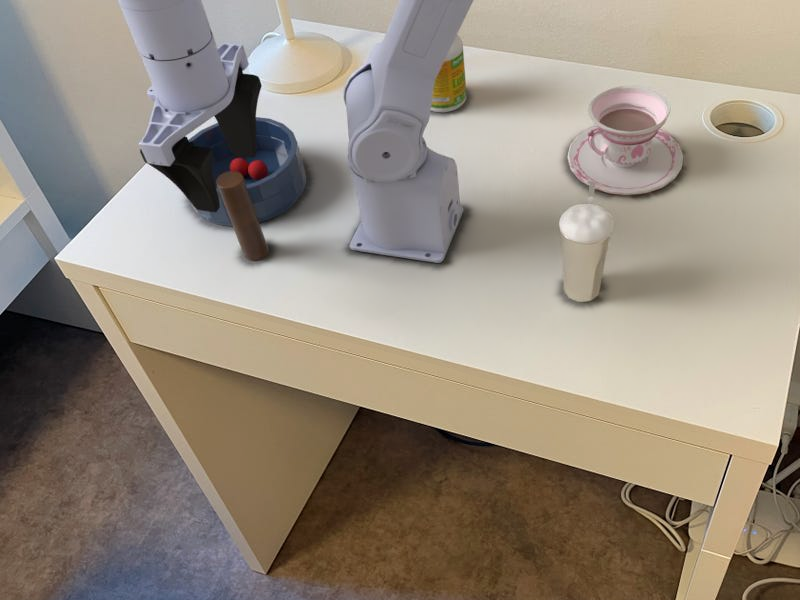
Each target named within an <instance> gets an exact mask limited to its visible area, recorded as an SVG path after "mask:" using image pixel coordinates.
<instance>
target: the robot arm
mask: <svg viewBox="0 0 800 600" xmlns="http://www.w3.org/2000/svg"><path fill="white" fill-rule="evenodd" d="M473 2H474V0H399V2H398V3H397V6H396V8H395V11H394V12H393V16H392V17H391V20H390V22H389V25H388V28H387V30H386V33H385V35H384V38H383V40H382V41H381V42H379V43H376V44H375V45H373V46H372V47H371V49H370V52H369V54H368V57H367V58H366V60H365V61H364V63H362V65H360V66H359V67H358V68H356V70H354V71H353V72H352V73H351V74H350V75H349V77H348V78H347V80H346V81H345V85H344V86H343V87H344V88H343V101H344V104H345V108H346V121H347V131H348V132H347V134H348V147H347V161H348V166H349V170H350V174H351V179H352V183H353V187H354V193H355V198H356V202H357V206H358V211H359V215H360V222H359V225H358V227H357V228H356V231H355V233H354V234H353V237H352V239H351V240H350V242H349V249H350V250H352V251H356V252H363V253H370V254H375V255H376V254H377V255H383V256H388V257H397V258H403V259H409V260H416V261H422V262H429V263H436V264H439V263H440V264H441V263H442V262H443V261H444V260H445V257H446V255H447V252H448V250H449V247H450V245H451V243H452V240H453V238H454V235H455V232H456V230H457V229H458V226H459V224H460V221H461V219H462V215H463V213H464V207H463V206H462V205H461V197H460V187H459V175H458V166H457V163H456V160H455V159H454V158H452V157H450V156H446V155H443V154H441V153H438V152H437V151H434V150H433V149H431V148H429V147H428V146H427V143H426V139H425V138H424V132H425V130H426V128H427V126H428V124H429V120H430V117H431V112H432V111H431V103H432V96H433V89H434V83H435V79H436V77H437V75H438V73H439V71H440V69H441V67H442V65H443V63H444V60H445V58H446V56H447V54H448V52H449V50H450V48H451V46H452V44H453V42H454V40H455V38H456V36H457V35H458V33H459V32H460V29H461V27H462V25H463V23H464V21H465V19H466V17H467V15H468V13H469V11H470V9H471V7H472V4H473ZM117 3H118V5H119V8H120V10H121V13H122V15H123V18H124V19H125V22H126V25H127V27H128V29H129V31H130V34H131V37H132V39H133V41H134V44H135V46H136V49H137V51H138V53H139V56H140V59H141V61H142V63H143V65H144V67H145V70H146V73H147V74H148V78H149V80H150V82H151V86H149V88H148V89H147V91H146V94H147V97H148V99H149V100H150V101H154V104H153V107H152V111H151V114H150V118H149V121H148V125H147V128H146V130H145V131H146V132H145V134H144V135H143V137H142V138H141V140H140V141H139V143H138V146H139V147H140V149H139V153H140V155H141V158H142V159H143V162H145V164H147V165H149V166H150V167H153V168H154V170H157V171H158V172H159V173H161V174H162V175H164V176H165V177H166V178H167V179H168V180H170V181H171V182H172V183H173V184H174V185H175V187H177V188H178V189H179V190H180V191H181V192H182V194H183V195H184V196H185V197H186V198H187V199H188V201H189V203H190V202H191V203H192V204H193V206H194V207H195V208H196V209H197V210H202V211H209V212H217V211H218V209H219V208H220V202H219V197H218V193H217V190H216V186H215V183H214V179H213V173H212V154H213V149H212V148H206V147H198V146H194V143H193V141H191V142H189V141H188V140H189V138H188V136H187V135H189V134H191V133H192V132H193V131H195V130H196V129H198V128H200V127H201V126H202V125H203V124H205V123H206V122H207V121H209V120H211V119H212V118H213V117H214V119H215V121H216V123H218V124H219V126H220V128H221V131H222V133H223V135H224V138H225V140H226V142H227V145H228V147H229V148H230V150H231V152H232V153H233V155H234V156H242V157H249V158H254V157H255V155H256V117H257V108H258V101H259V97H260V93H261V89H262V82H261V79H260V77H259V76H258V75H256V74H250V73H244V71H245V70H246V69H247V68H248V66H249V65H250V63H249V60H248V57H247V54H246V50H245V46H244V45H243V44H237V43H228V42H222V43H221V44H220V45H219V46H217V43H216V40H215V37H214V34H213V31H212V28H211V26H210V22H209V19H208V16H207V13H206V10H205V7H204V3H203V2H202V0H117ZM191 203H190V204H191ZM193 206H192V207H193Z"/></svg>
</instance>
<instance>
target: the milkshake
mask: <svg viewBox="0 0 800 600" xmlns="http://www.w3.org/2000/svg"><path fill="white" fill-rule="evenodd" d="M595 190H596V189H595V182H590V185H589V186H588V193H587V194H588V196H587V203H577V204H575V205H573V206H571V207H569V208H568V209H566V210H565V211H564V212H563V213H562V214H561V216H560V219H559V222H558V227H559V237H560V247H561V261H562V263H561V264H562V278H563V279H562V280H563V291H564V293H565V294H566V296H567V297H568V299H570V300H573V301H575V302H578V303H586V302H587V303H588V302H591V301H593V300H594V299H596V298H597V297H598V296H599V294H600V290H601V286H602V285H601V284H602V280H603V279H602V278H603V275H604V274H603V273H604V269H605V265H606V259H607V255H608V253H609V249H610V245H611V244H610V243H611V240H612V236H613V231H614V227H615V220H614V217H613V216H612V214H610V212H609V211H608V210H607V209H606V208H604V207H603V206H600V205H597V204H594V199H595V192H596V191H595Z"/></svg>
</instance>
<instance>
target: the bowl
mask: <svg viewBox="0 0 800 600" xmlns="http://www.w3.org/2000/svg"><path fill="white" fill-rule="evenodd" d="M188 141H189V142H191V141H193V143H194V146H198V147H206V148H212V149H213V154H212V173H213V179H214V183H215V186H216V190H217V193H218V197H219V202H220V208H219V209H218V211H217V212H209V211H202V210H197V209H196V208H195V207H194V206H193V204H192V203H191V202H190V201H189V203H190V205H191V207H192V209H193V210H194V211H195V213H196V214H197V215H198V216H199V217H201V218H202V219H204V220H205V221H207V222H210V223H212V224H215V225H220V226H224V227H233V225H232V223H231V220H230V217H229V215H228V212H227V210H226V207H225V204H224V202H223V199H222V197H221V194H220V191H219V189H218V186H217V183H216V181H217V178H218V177H219V176H220V175H222V174H223V173H226V172H229V171H230V164H231V162H232V161H233V160H234V159H236V158H242V159H244V160H246V161H247V162H248V164H249V165H250V164H251V163H252V162H253V161H257V160H258V161H262V162H264V163H265V164H266V166H267V168H268V174H267V176H266V177H265V178H263V179H261V180H256V179H253V178H252V177H251V176H250V175H249V173H248V174H247V175H246V176H245V177H243V178H244V181H245V183H246V186H247V189H248V192H249V195H250V198H251V201H252V204H253V206H254V209H255V212H256V215H257V218H258V221H259V224H260V223H264V222H267V221H269V220H271V219H273V218H276V217H278V216H279V215H280V216H281V214H283V213H285V212H286V211H287V210H289V209H290V208H291V207H292V206H294V205H295V204H296V202H298V201H299V199H300V198H301V196H302V195H303V193H304V190H305V188H306V184H307V175H306V169H305V165H304V162H303V159H302V158H303V157H302V155H301V151H300V146H299V143H298V141H297V139H296V136H295V133H294V131H292V129H291V128H289V127H288V126H287V125H285V124H284V123H282V122H280V121H278V120H275V119H272V118H267V117H260V116H256V155H255V157H254V158H249V157H242V156H234V155H233V153H232V152H231V150H230V148H229V147H228V145H227V142H226V140H225V138H224V135H223V133H222V131H221V128H220V126H219V124H218V122H216V123H213V124H211V125H209V126H207V127H205V128H203V129H201V130H199V131H198V132H197V133H196V134H194V135H193V136H192V137H190V138H188Z"/></svg>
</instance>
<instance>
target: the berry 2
mask: <svg viewBox="0 0 800 600" xmlns="http://www.w3.org/2000/svg"><path fill="white" fill-rule="evenodd" d="M248 172H249V175H250V176H251V177H252V178H253V179H256V180H261V179H263V178H265V177H266V176H267V174H268V168H267V166H266V164H265V163H264V162H262V161H258V160H257V161H253V162H252V163H251V164H250V165H249V167H248Z"/></svg>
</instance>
